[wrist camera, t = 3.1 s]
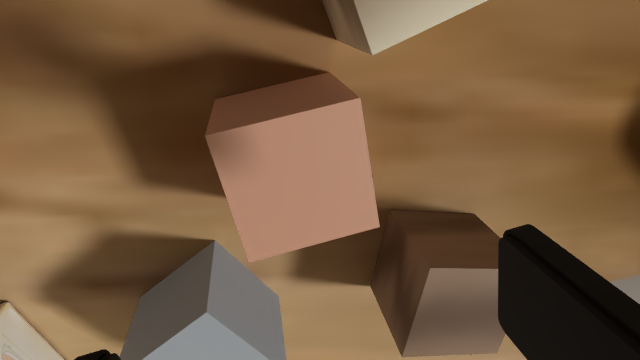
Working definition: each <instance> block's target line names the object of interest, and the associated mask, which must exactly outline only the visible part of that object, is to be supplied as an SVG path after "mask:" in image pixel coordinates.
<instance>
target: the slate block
mask: <svg viewBox="0 0 640 360" xmlns="http://www.w3.org/2000/svg"><path fill="white" fill-rule="evenodd" d="M120 359H121V360H286V354H285V346H284V337H283V329H282V321H281V312H280V304H279V296H278V295H276V294H275V293H274V292H273V291H272V290H271V289H270V288H269V287H267V286H266V285H265V284H264V283H263V282H262V281H261V280H259V279H258V278H257V277H256V276H255V275H254V274H253V273H252V272H250V271H249V270H248V269H247V268H246V267H245V266H244V265H242V264H241V263H240V262H239V261H238V260H237V259H236V258H235V257H233V256H232V255H231V254H230V253H229V252H228V251H227V250H225V249H224V248H223V247H222V246H221V245H220V244H219V243H218V242H216V241H215V240H214V241H213V242H212V243H210V244H209V245H208V246H207V247H205V248H204V249H203V250H201V251H200V252H199V253H197V254H196V255H195V256H193V257H192V258H191V259H189V260H188V261H187V262H186V263H184V264H183V265H182V266H180V267H179V268H178V269H176V270H175V271H174V272H172V273H171V274H170V275H168V276H167V277H166V278H164V279H163V280H162V281H161V282H159V283H158V284H157V285H155V286H154V287H153V288H151V289H150V290H149V291H147V292H146V293H145V294H143V295H142V296H141V297H140V299H139V302H138V305H137V308H136V311H135V314H134V317H133V320H132V322H131V325H130V328H129V331H128V334H127V337H126V340H125V343H124V346H123V349H122V352H121V354H120Z"/></svg>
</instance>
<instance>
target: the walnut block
mask: <svg viewBox="0 0 640 360" xmlns="http://www.w3.org/2000/svg"><path fill="white" fill-rule="evenodd" d="M500 239H501V238H500V237H499V236H498V235H496V234H495V233H494V232H493V231H492V230H491V229H490V228H489V227H488V226H487V225H486V224H485V223H484V222H482V221H481V220H480V219H479V218H478V217H477V216H476V215H475V214H466V213H446V212H426V211H406V210H389V214H388V218H387V222H386V226H385V230H384V234H383V238H382V242H381V246H380V250H379V254H378V258H377V262H376V266H375V270H374V274H373V278H372V282H371V289H372V291H373V293H374V295H375V297H376V300H377V302H378V304H379V306H380V309H381V311H382V313H383V315H384V318H385V320H386V322H387V324H388V327H389V329H390V331H391V333H392V336H393V338H394V340H395V342H396V345H397V347H398V349H399V351H400V354H401V356H402V357H416V356H440V355H464V354H488V353H497V352H498V349H499V347H500V345H501V343H502V340H503V338H504V336H505V334H506V333H505V332H504V331H503V329H502V327H501V325H500V323H499V320H498V243H499V240H500Z"/></svg>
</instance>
